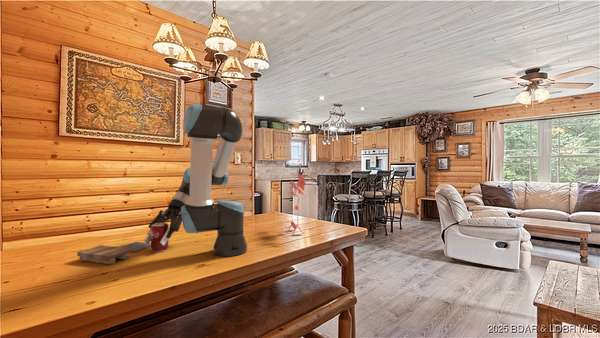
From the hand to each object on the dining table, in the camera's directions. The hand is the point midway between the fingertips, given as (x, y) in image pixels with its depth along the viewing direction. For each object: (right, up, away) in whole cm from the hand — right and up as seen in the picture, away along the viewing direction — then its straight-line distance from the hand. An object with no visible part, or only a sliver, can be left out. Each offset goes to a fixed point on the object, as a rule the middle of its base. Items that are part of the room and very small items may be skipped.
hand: (154, 243), depth 122 cm
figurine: (+67, -4, +39) cm, 77 cm away
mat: (-13, -4, +7) cm, 15 cm away
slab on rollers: (-15, -4, -10) cm, 19 cm away
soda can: (+1, -4, +3) cm, 6 cm away
